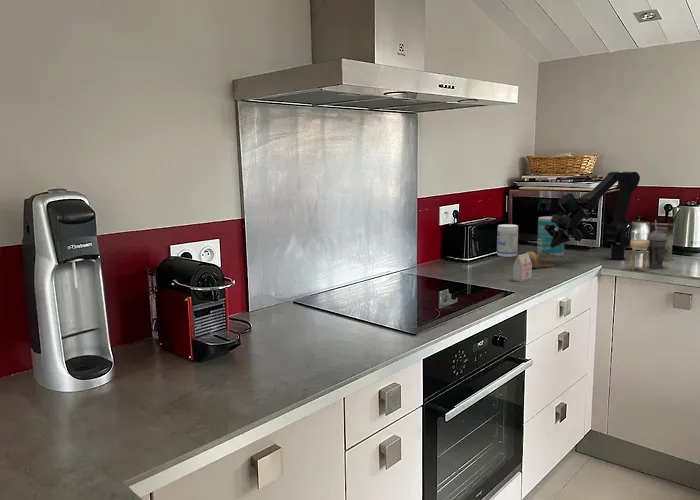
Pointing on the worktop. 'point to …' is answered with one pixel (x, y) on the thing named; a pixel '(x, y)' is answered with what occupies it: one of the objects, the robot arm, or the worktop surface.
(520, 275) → the milk carton
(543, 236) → the food can
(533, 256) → the wooden stool
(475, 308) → the worktop surface
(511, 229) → the supplement tub
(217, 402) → the worktop surface
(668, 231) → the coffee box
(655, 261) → the beverage cup
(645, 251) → the light brown bar stool
